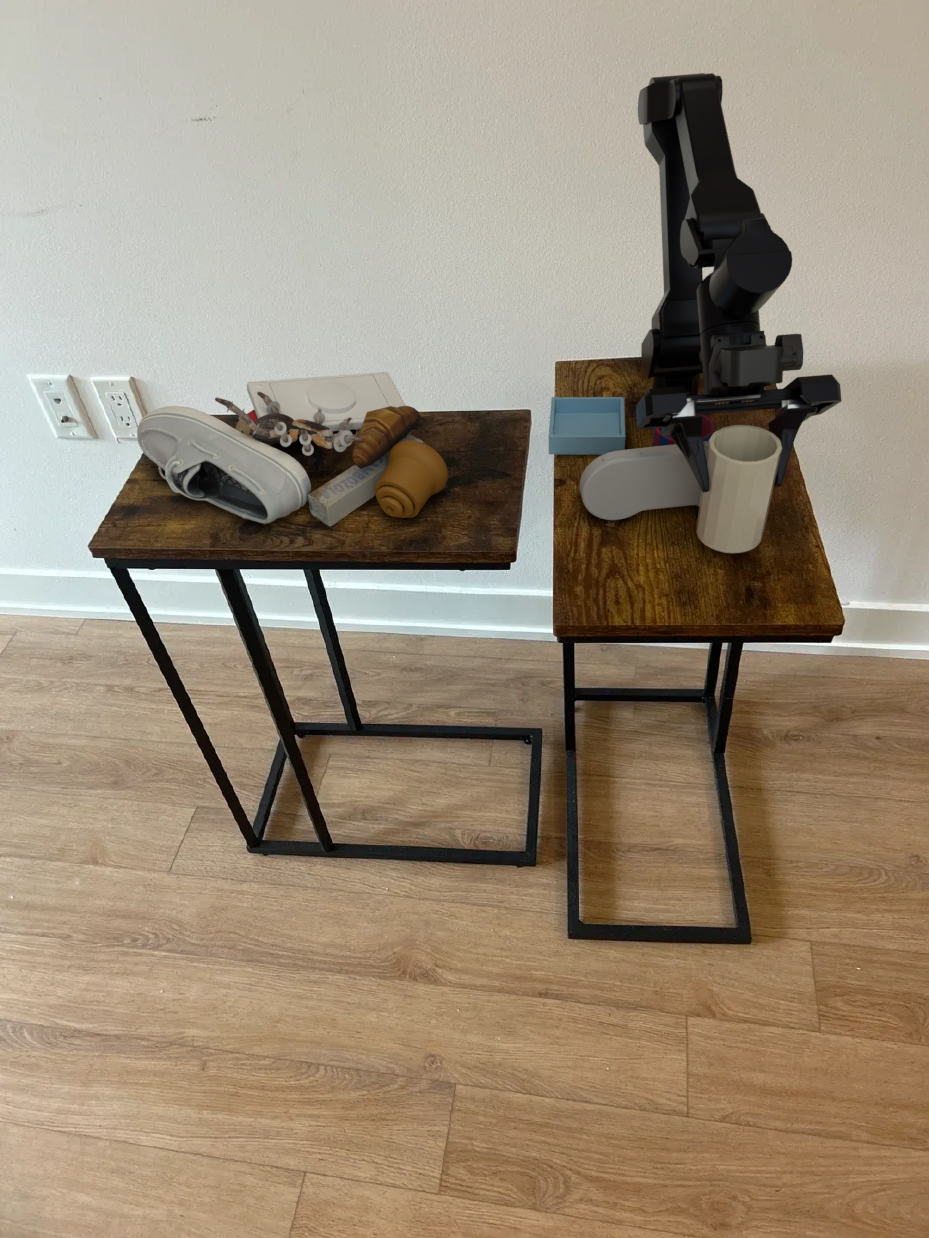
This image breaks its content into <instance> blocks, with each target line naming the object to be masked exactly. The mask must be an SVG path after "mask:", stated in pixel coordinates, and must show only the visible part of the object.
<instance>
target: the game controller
mask: <svg viewBox="0 0 929 1238" xmlns="http://www.w3.org/2000/svg"><path fill="white" fill-rule="evenodd" d="M703 443H704V449H705V455H706V458H707V451H708V444H709V441H704V442H703ZM701 491H702V490H701V488H700V486H699V484H698V482H697V480H696V478H695V476H694V474H693V472H692V470H691V468H690V466H689V464H688V462H687V460H686V458H685V457H684V455H683V453H682V452H681V450H680V449H679V447H678V446H677V445H676V444H674V445H664V446H655V447H652V446H646V447H638V448H629V449H628V448H627V449H625V450H619V451H613V452H609V453H606V454H603V455H599V456H598V457H596V458H594V459H593V460H592V461H591V462H590V463H589V464H588V465H587V466H586V467H585V469H584V471H583V472H582V473H581V476H580V479H579V493H580V496H581V500H582V502H583V506H584V507H585V509H586V510H587V511H588V513H590V514H591V515H593V516H594V517H597V518H599V519H601V520H605V521H619V520H623V519H628V518H630V517H632V516H635V515H637V514H638V513H640V512H642V511H643V512H644V511H650V510H661V509H668V508H678V507H679V508H680V507H689V506H697V507H699V505H700V498H701Z"/></svg>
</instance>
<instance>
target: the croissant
mask: <svg viewBox="0 0 929 1238" xmlns="http://www.w3.org/2000/svg"><path fill="white" fill-rule="evenodd" d="M421 418H422V416H421V414H420V412H419V410H417V409H416V408H415V407H414V406H413V407H412V406H410V405H406V406H400V407H393V406H390V407H386V408H382V409H378V410H373V411H369V412H367V413H366V416H365V419H364V422H363V424H362V427H361V429H358V431H357V435H356V436H357V437H360V438H362V440H361V441H357V442H356V441H355V443H354V447H353V450H352V461H353V462H354V465H356V466H357V467H359V468H360V469H362V468H365V467H367V466H370V465H372V464H373V463H374V462H376V461H377V460H378V459H380V458H381V457H383V456H384V455H385V454H386V453H387V452H388V451H389V450H390V449H391V448H392V447H393V446H394V445H396V444H397V443H398V442H399V441H400V440H401V439H403V438H404V437H405V436H406V435H407V434H408V433H409V434H410V432H411V431H412V430H413V429H414V428H415V427H417V424H419V421H420V420H421Z"/></svg>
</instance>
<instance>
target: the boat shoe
mask: <svg viewBox="0 0 929 1238" xmlns="http://www.w3.org/2000/svg"><path fill="white" fill-rule="evenodd" d="M136 436H137V444H138V446H139V448H140V449H141V452H142V453H143V454H144V455H145V456H146V457H147V458H148V459H149V460H151V461H152V462H153V463H154V464H156V465H157V467H158V466H159V467H161V470H163V471H164V476H165V477H166V479H167V480H166V479H165V480H166V482H167V484H168V486H169V488H170V489H171V491H173V492H174V493H176V494H181V495H183V496H184V497H186V498H188V499H191V500H194V501H205V502H207V503H209V504H212V505H214V506H216V507H218V508H220V509H222V510H224V511H227V512H228V513H230V514H234V515H236V516H238V517H240V518H242V519H244V520H250V521H252V522H256V523H259V524H263V525H266V524H271V523H272V522H275V521H276V520H277V519H280V518H281V519H282V518H286V517H288V516H289V515H290V514H291V513H293V512H296V511H298V510H299V509H300V508H302V507H304V506H305V505H306V504H307V502H309V501H308V495H309V494H311V493H312V492H311V491H312V485H311V481H310V478H309V475H308V473H307V471H306V469H305V468H304V466H303V465H302V464H301V463H300V462H299V461H298V460H297V459H295V457H292V456H291V455H290V454H288V453H287V452H284V451H282V450H280V449H278V448H276V447H273V446H272V445H271V446H269V445H267V444H264V443H262V442H259V441H257V440H254V439H252V438H250V437H248V436H246V435H244V434H242V433H241V432H239V431H237V430H236V429H235V428H234V427H233V426H231V425H229V424H227V423H226V422H224V421H223V420H220V419H219V418H217V417H215V416H213V415H211V414H209V413H206V412H205V411H202V410H199V409H197V408H194V407H189V406H179V405H170V406H162V407H159V408H156V409H153V410H152V411H150V412H148V413H147V414H146V415H144V416H143V417H142V418H141V419H140V421H139V423H138V426H137V429H136Z"/></svg>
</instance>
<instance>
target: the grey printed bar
mask: <svg viewBox="0 0 929 1238" xmlns="http://www.w3.org/2000/svg"><path fill="white" fill-rule="evenodd" d="M405 440H414V441H418V442H422V443H424V441H423V440H421V439H420V438H417V437H416V436H414V435H412V434H410V432H409V433H408V434H407V435H406V436H405V437H404V438H403V439H401V440H400V441H399V442H401V441H405ZM399 442H398V443H399ZM390 450H391V449H390ZM390 450H389V451H388V452H387V453H386V454H385V455H384V456H383V457H381V458H380V459H378V460H377V461H376V462H374V463H373V464H372V465H370V466H367V467H365V468H362V469H360V468H359V467H357V466H356V465H355V464H353V465H352V466H350V467H348V468H347V469H345V470H344V471H343V472H341V473H339V474H338V473H336V472H337V470H334V471H333V472H334V473H336V476H335V477H334V478H332V479H330V480H329V481H328V482H325V483H323V485H322V486H320V487H318V488H316V489H315V490H313V491H312V492H310V494H309V495H308V501H307V502H308V505H309V513H310V514H311V516H312V517H314V518H316V519H315V521H317V520H319V521H320V522H322V523H323V524H325V525H326V526H327V527H332V526H334V525H335V524H337V523H338V522H340V521H341V520H342V519H344V518H345V517H347V516H348V515H349V514H350V513H352V512H354V511H355V510H356V509H358V508H360V507H361V506H362V505H364V504H366V503H367V502H368V501H369V500H371V499H373V498H374V497H376V495H375V491H374V489H375V486H376V484H377V483H378V481H379V479H380V478H381V476H382V474H383V473H384V471H385V470H386V468H387V466H388V463H387V459H388V454H389V452H390Z"/></svg>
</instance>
